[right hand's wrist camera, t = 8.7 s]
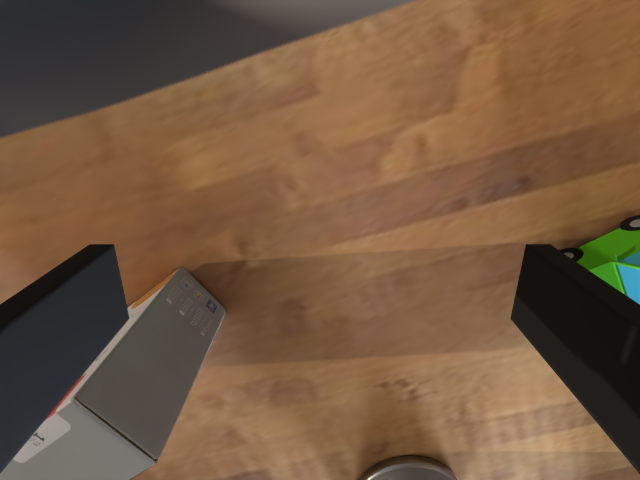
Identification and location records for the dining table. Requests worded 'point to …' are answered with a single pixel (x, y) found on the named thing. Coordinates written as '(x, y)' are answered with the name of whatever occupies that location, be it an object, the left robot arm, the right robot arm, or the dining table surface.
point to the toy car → (614, 257)
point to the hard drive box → (127, 391)
